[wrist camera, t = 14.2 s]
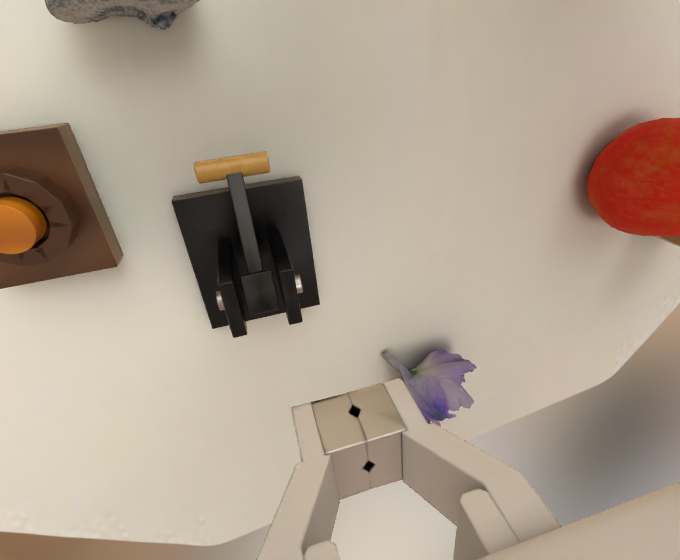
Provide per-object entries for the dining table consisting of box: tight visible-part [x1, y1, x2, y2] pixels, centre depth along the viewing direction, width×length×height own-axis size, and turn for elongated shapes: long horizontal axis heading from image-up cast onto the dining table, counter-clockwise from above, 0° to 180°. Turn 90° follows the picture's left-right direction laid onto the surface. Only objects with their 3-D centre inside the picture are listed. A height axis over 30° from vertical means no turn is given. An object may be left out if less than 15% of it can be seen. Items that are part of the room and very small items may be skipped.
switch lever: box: [194, 152, 280, 316], centre depth 28 cm, size 11×5×2 cm, turn 6°
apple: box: [587, 118, 680, 237], centre depth 36 cm, size 11×11×11 cm
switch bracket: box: [172, 176, 320, 338], centre depth 30 cm, size 12×10×9 cm
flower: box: [382, 350, 476, 427], centre depth 43 cm, size 9×9×10 cm
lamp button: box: [0, 197, 46, 254], centre depth 24 cm, size 3×3×2 cm
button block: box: [0, 123, 123, 289], centre depth 26 cm, size 10×8×4 cm
